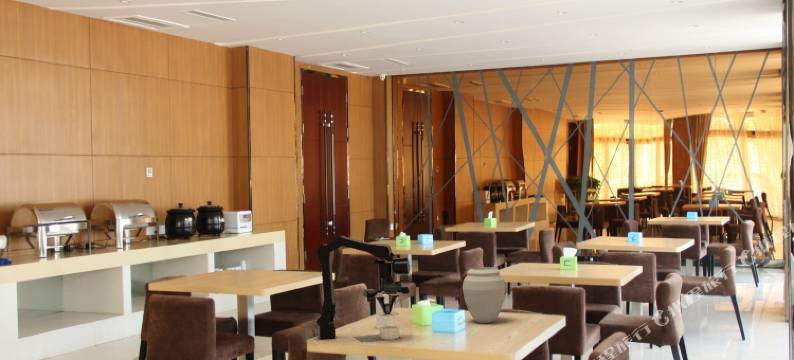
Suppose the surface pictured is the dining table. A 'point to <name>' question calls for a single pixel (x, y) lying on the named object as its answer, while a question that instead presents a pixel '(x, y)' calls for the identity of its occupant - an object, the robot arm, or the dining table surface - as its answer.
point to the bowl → (389, 332)
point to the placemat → (371, 338)
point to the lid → (387, 311)
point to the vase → (484, 293)
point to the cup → (387, 319)
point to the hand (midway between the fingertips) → (387, 312)
